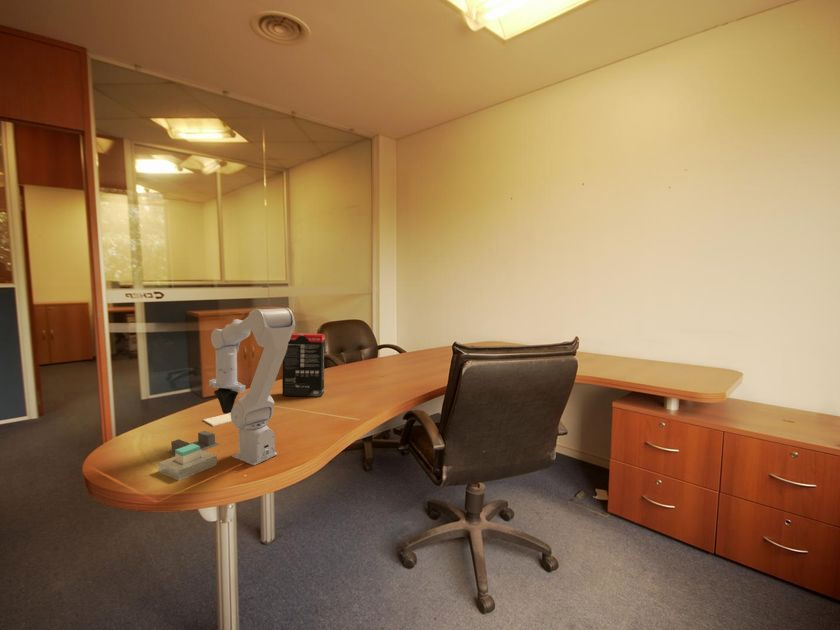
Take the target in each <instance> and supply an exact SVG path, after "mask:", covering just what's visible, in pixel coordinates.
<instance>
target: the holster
mask: <svg viewBox="0 0 840 630" xmlns="http://www.w3.org/2000/svg"><path fill="white" fill-rule="evenodd" d="M197 434H198V435H197V436H198V439H197V440H195V441H192V442H190V443H189V442H188V441H184V440H182V439H179V438H178V439H175V440H173V441H171V442H170V443H171V444H170V445H171V449H169V450H167V451H166V453H168V454H171V455H173V456H175V450H176V449H179V448H182V447H185V446H187V445H190V444H195V445H198V446H200V449H201V450H203V451H206V450H208V449H211V448H214V447H216V446H219V445H220V442H219V443H218V442H216V436H215V435H216V434H215V433H213V432H210V431H207V430H202V431H200V432H197Z"/></svg>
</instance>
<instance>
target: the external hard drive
mask: <svg viewBox="0 0 840 630" xmlns="http://www.w3.org/2000/svg"><path fill="white" fill-rule="evenodd" d="M202 422H204V423H206V424H208V425H210V426H212V427H216V426H220V425H224V424H228V423H231V422H232V420H231V412H230V413H227V414H224V413H223V414H221V415H217V416H212V417H207V418H204V419H202Z"/></svg>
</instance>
